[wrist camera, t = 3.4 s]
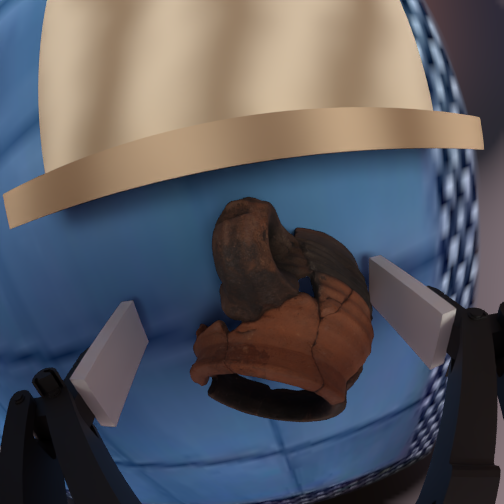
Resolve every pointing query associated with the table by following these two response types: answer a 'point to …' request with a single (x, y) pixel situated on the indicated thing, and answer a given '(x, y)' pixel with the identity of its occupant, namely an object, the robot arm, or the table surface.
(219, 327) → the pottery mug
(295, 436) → the table surface
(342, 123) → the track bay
